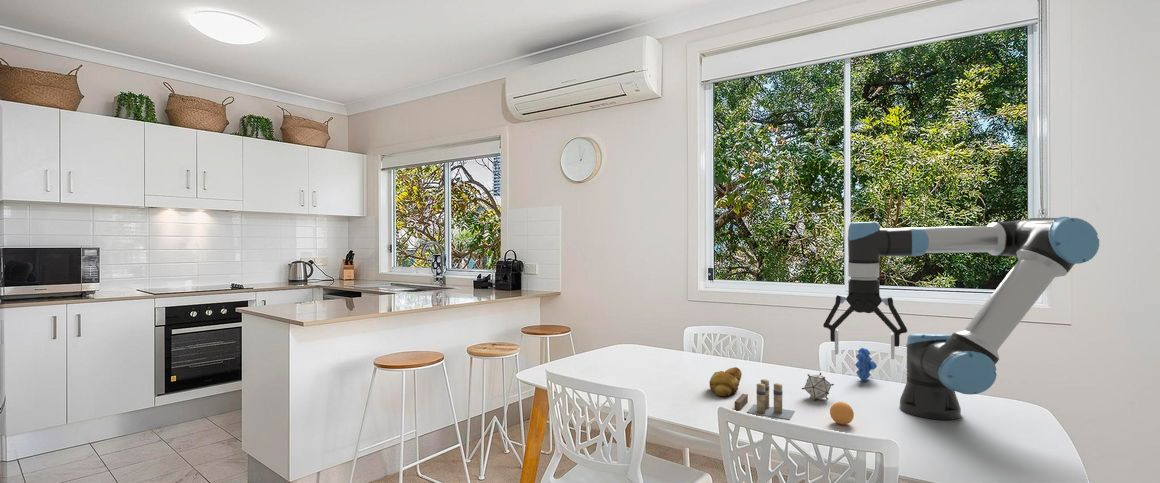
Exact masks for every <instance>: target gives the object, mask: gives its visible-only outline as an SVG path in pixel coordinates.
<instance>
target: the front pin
mask: <svg viewBox="0 0 1160 483" xmlns="http://www.w3.org/2000/svg"><path fill="white" fill-rule="evenodd" d="M783 392H784V391H783V384H781V383H773V393H772V394H773V407H774V413H776V414H782V409H783Z"/></svg>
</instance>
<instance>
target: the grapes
mask: <svg viewBox="0 0 1160 483" xmlns="http://www.w3.org/2000/svg"><path fill="white" fill-rule="evenodd" d="M857 352H858V354H856V356H855V357H856V359H857V362H856V363H855V364H854V366H855V367H856V368H857V371H856V372H855V374H856V375H857V376H858V378H859V379H860V381H862V382H865V381H867V380H868V379H869V378H870V376H871V373H870V372H871V371H872V370H873V371H874V370H875V369H876V368H877V367H878V365H877V364H876V362H874V361H873V360H872V357H871V356H870V355H871V352H870V351H869V350H868V349H867V348H864V347H861V348H859V349H858V351H857Z"/></svg>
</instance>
